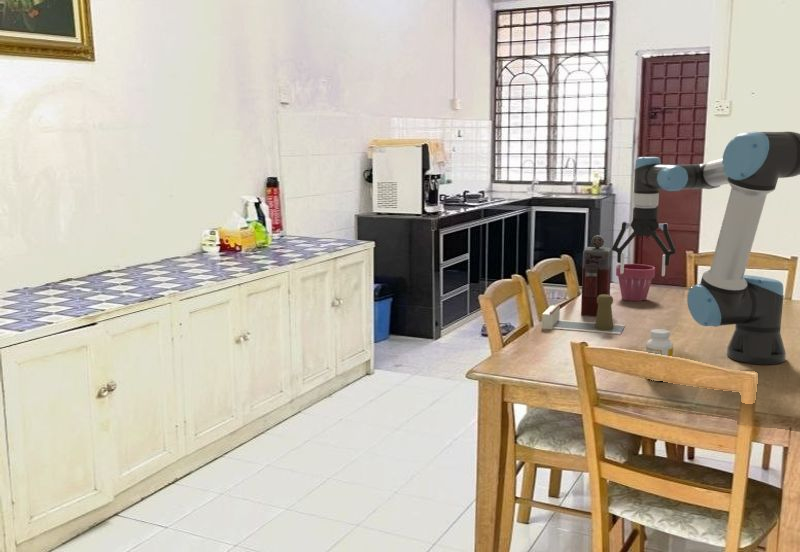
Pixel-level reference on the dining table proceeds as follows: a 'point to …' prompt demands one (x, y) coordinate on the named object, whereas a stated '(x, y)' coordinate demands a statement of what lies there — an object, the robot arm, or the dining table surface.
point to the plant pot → (635, 281)
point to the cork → (604, 312)
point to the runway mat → (586, 327)
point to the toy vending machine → (595, 275)
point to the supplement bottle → (660, 343)
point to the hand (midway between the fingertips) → (642, 274)
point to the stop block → (550, 317)
